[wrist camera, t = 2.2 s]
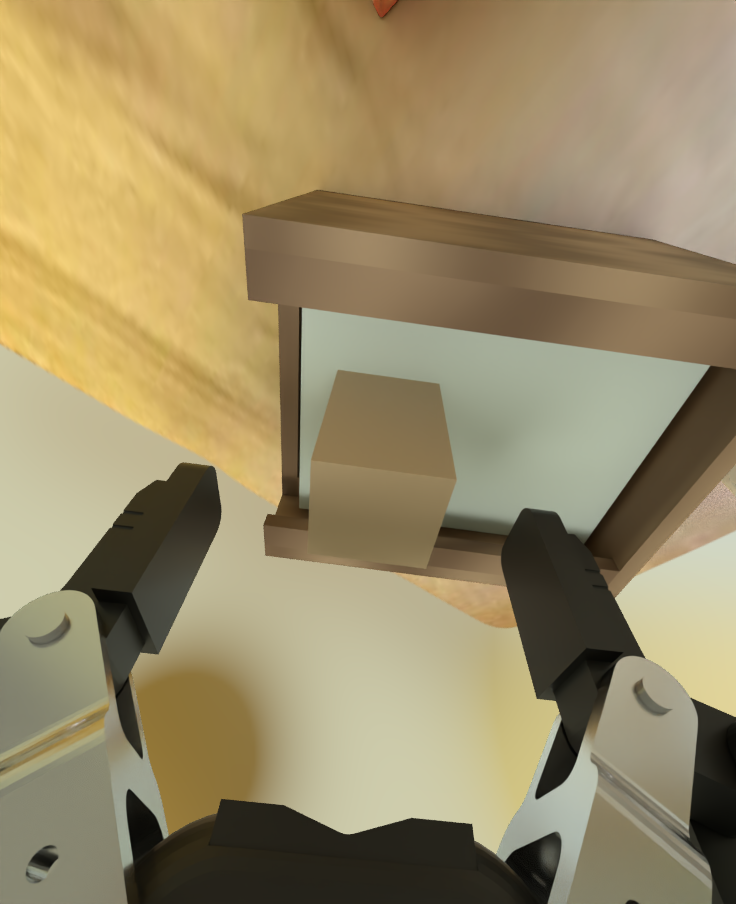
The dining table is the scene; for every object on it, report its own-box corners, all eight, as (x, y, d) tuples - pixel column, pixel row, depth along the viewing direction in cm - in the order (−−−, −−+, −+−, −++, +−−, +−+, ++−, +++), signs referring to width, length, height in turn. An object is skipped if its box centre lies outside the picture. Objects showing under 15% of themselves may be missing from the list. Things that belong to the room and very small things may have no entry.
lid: (722, 306, 12) (935, 401, 7) (574, 528, 18) (637, 658, 13) (309, 246, 12) (247, 303, 7) (303, 492, 18) (269, 611, 13)
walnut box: (653, 240, 17) (877, 307, 9) (543, 457, 24) (612, 600, 17) (317, 189, 17) (242, 213, 9) (309, 426, 24) (265, 555, 16)
